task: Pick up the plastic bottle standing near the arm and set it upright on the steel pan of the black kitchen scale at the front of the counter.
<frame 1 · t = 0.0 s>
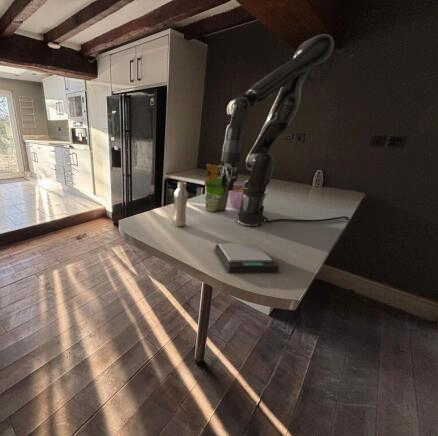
hand: (226, 188, 104), 17 cm above the table, tool pointing down, fingers open, 8 cm apart
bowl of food: (243, 209, 129), on the table
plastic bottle: (178, 225, 107), on the table
pouch: (213, 210, 128), on the table
scale: (243, 260, 80), on the table
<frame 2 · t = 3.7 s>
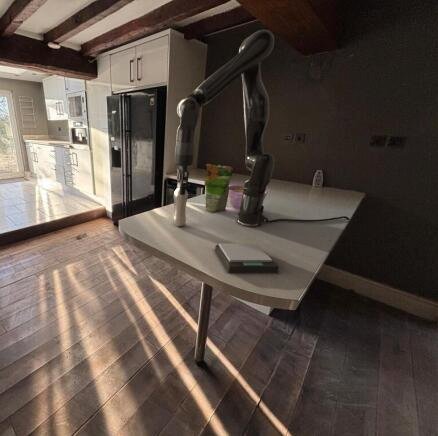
hand: (181, 192, 101), 16 cm above the table, tool pointing down, fingers closed on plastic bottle, 6 cm apart
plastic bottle: (178, 225, 107), on the table, touching gripper
everything else where it was.
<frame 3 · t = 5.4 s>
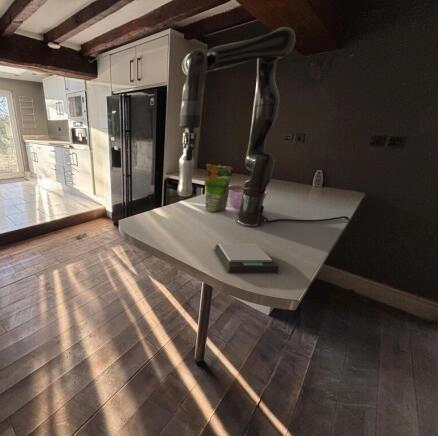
hand: (187, 159, 94), 30 cm above the table, tool pointing down, fingers closed on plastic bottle, 6 cm apart
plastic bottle: (184, 196, 100), point 14 cm above the table, touching gripper
everything else where it was.
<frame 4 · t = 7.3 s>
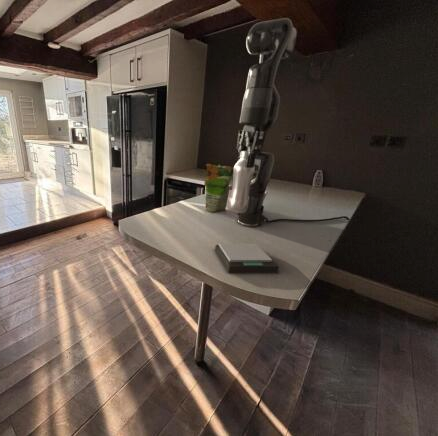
hand: (245, 165, 73), 32 cm above the table, tool pointing down, fingers closed on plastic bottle, 6 cm apart
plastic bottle: (236, 212, 79), point 16 cm above the table, touching gripper
everything else where it was.
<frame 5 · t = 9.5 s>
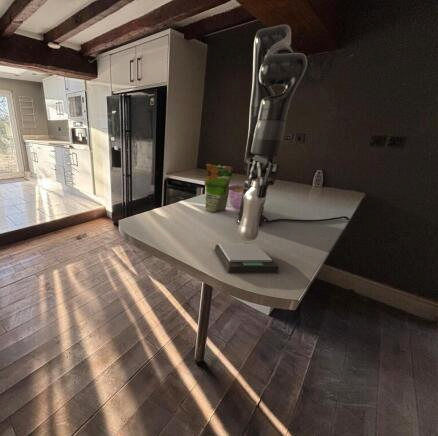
hand: (255, 194, 72), 24 cm above the table, tool pointing down, fingers closed on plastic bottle, 6 cm apart
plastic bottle: (246, 239, 78), point 8 cm above the table, touching gripper
everything else where it was.
when the fingers open (19 cm above the table, at t = 11.2 s): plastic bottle stays where it is, resting on scale.
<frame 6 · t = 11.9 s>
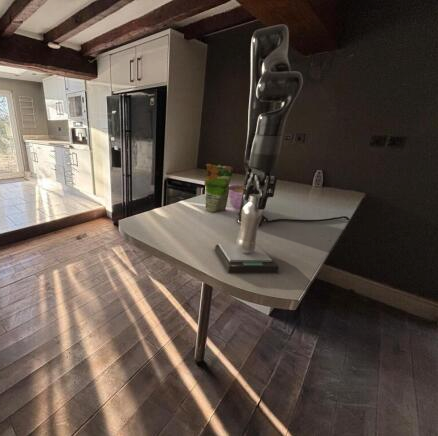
hand: (254, 204, 73), 20 cm above the table, tool pointing down, fingers open, 8 cm apart
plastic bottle: (243, 251, 80), point 3 cm above the table, touching scale
everything else where it was.
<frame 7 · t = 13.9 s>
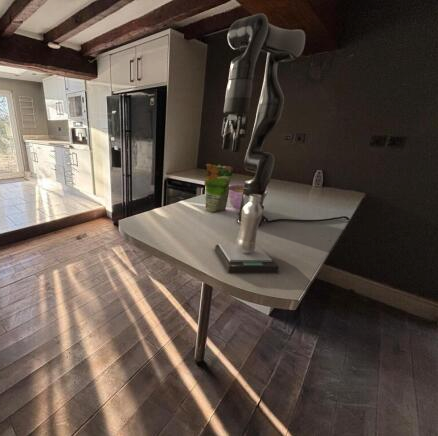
hand: (230, 150, 79), 35 cm above the table, tool pointing down, fingers open, 8 cm apart
nothing on the table moved.
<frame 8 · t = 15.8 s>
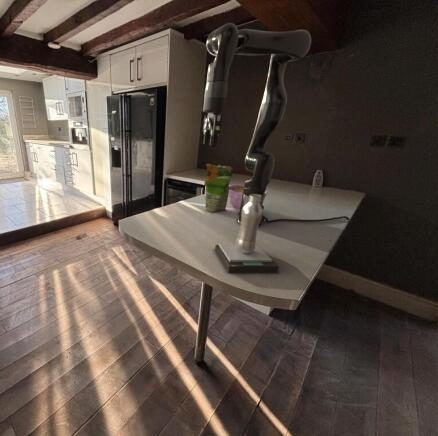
hand: (209, 145, 87), 36 cm above the table, tool pointing down, fingers open, 8 cm apart
nothing on the table moved.
at the end: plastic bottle inside the target area on the scale (0.4 cm from its centre), point 3.0 cm above the scale's base; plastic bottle tilted 0°; the gripper is holding nothing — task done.
